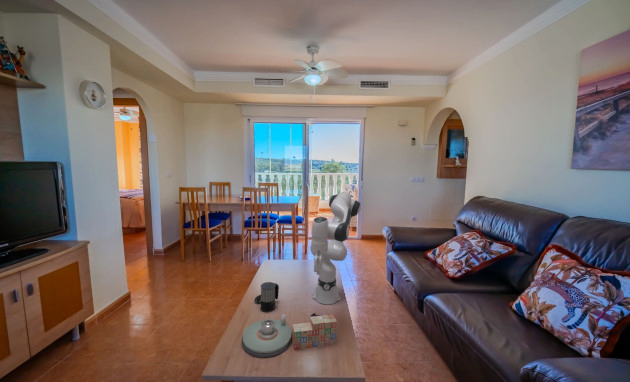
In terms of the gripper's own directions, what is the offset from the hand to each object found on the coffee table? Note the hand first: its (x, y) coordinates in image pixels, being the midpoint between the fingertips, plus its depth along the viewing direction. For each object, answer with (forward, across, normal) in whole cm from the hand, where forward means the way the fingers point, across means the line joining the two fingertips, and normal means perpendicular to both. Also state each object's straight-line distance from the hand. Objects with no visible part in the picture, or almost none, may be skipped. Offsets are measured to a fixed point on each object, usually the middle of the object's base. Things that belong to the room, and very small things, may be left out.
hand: (318, 273), depth 136 cm
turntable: (+29, -12, +24) cm, 40 cm away
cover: (+28, -12, +24) cm, 39 cm away
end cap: (+31, -1, 0) cm, 31 cm away
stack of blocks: (+32, -11, 0) cm, 33 cm away
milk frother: (+31, +19, +34) cm, 50 cm away
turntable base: (+31, -12, +24) cm, 41 cm away
